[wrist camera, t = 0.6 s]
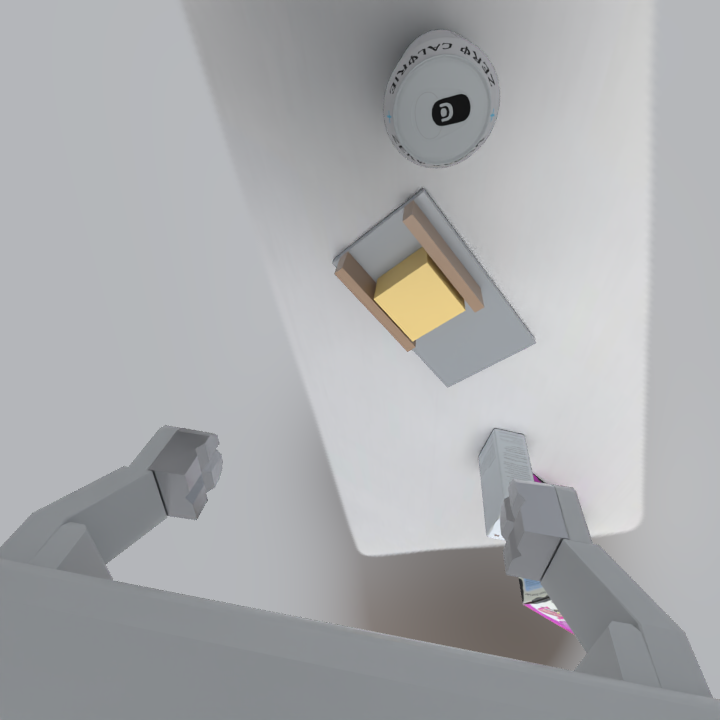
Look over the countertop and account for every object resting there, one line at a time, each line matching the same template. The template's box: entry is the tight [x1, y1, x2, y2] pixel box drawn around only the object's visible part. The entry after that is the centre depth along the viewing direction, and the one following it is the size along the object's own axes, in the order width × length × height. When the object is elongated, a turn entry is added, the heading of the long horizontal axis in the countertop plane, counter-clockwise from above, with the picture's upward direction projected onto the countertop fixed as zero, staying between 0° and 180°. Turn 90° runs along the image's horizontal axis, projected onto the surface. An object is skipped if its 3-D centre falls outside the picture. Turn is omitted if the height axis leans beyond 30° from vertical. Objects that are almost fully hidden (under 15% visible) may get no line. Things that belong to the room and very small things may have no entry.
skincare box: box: [479, 429, 534, 541], centre depth 52 cm, size 6×4×12 cm
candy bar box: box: [519, 475, 574, 634], centre depth 57 cm, size 11×5×16 cm, turn 49°
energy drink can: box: [383, 29, 500, 168], centre depth 27 cm, size 6×6×15 cm
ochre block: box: [374, 247, 466, 341], centre depth 41 cm, size 6×6×4 cm
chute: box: [332, 188, 536, 388], centre depth 43 cm, size 20×11×4 cm, turn 41°
